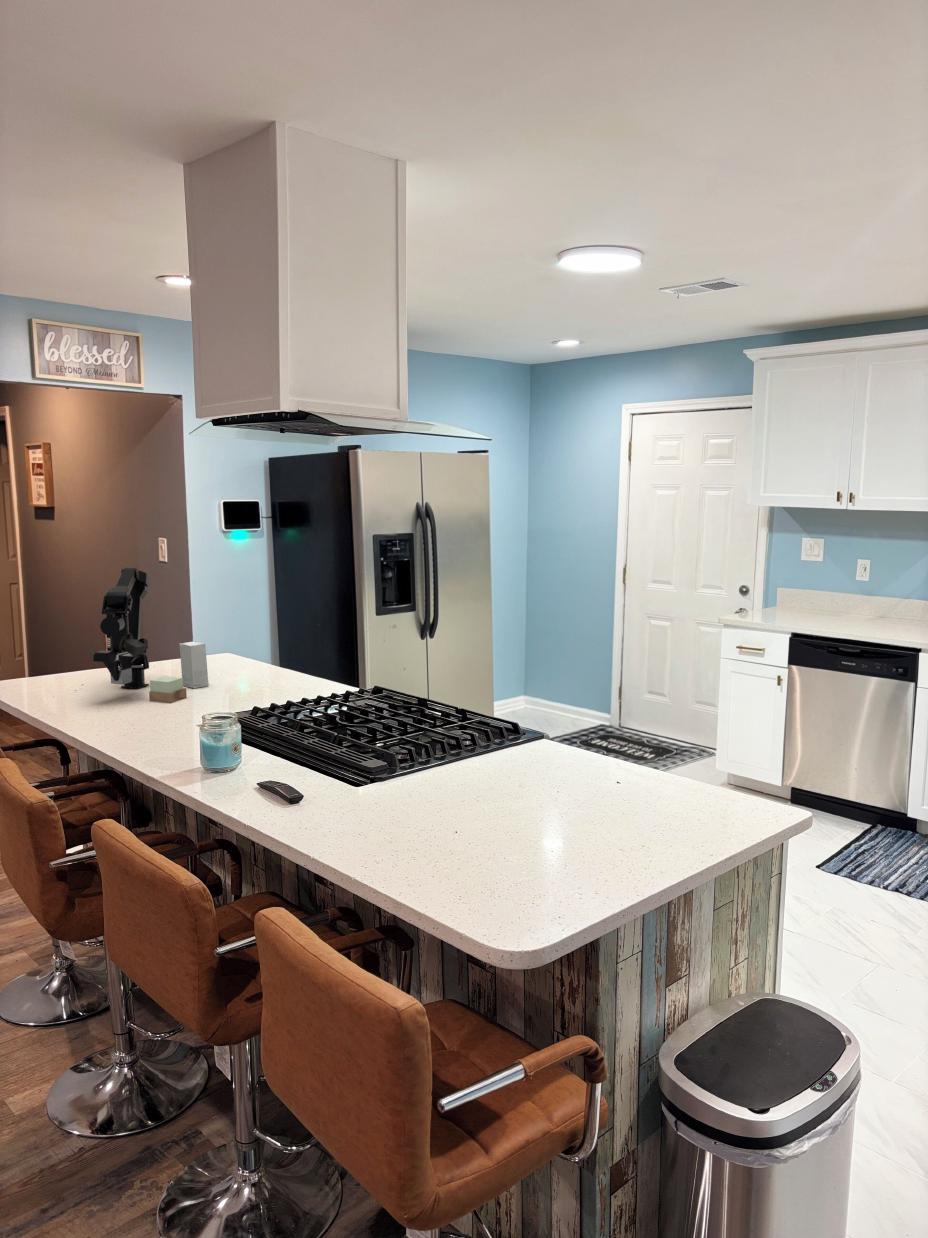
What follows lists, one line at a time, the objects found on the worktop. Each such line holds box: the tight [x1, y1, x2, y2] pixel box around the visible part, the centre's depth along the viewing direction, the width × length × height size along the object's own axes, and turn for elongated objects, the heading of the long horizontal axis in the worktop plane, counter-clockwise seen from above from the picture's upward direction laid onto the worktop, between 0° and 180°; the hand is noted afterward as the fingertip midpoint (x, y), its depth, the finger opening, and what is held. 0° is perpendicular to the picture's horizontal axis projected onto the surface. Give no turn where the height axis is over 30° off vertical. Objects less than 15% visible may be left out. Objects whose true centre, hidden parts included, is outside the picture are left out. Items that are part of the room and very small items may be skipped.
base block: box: [148, 687, 187, 704], centre depth 285 cm, size 8×8×4 cm
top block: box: [149, 675, 184, 693], centre depth 285 cm, size 7×7×4 cm
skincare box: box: [179, 641, 210, 689], centre depth 304 cm, size 8×6×15 cm
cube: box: [110, 667, 132, 685], centre depth 286 cm, size 4×4×4 cm
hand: (121, 679), depth 286 cm, fingers closed on cube, 4 cm apart
